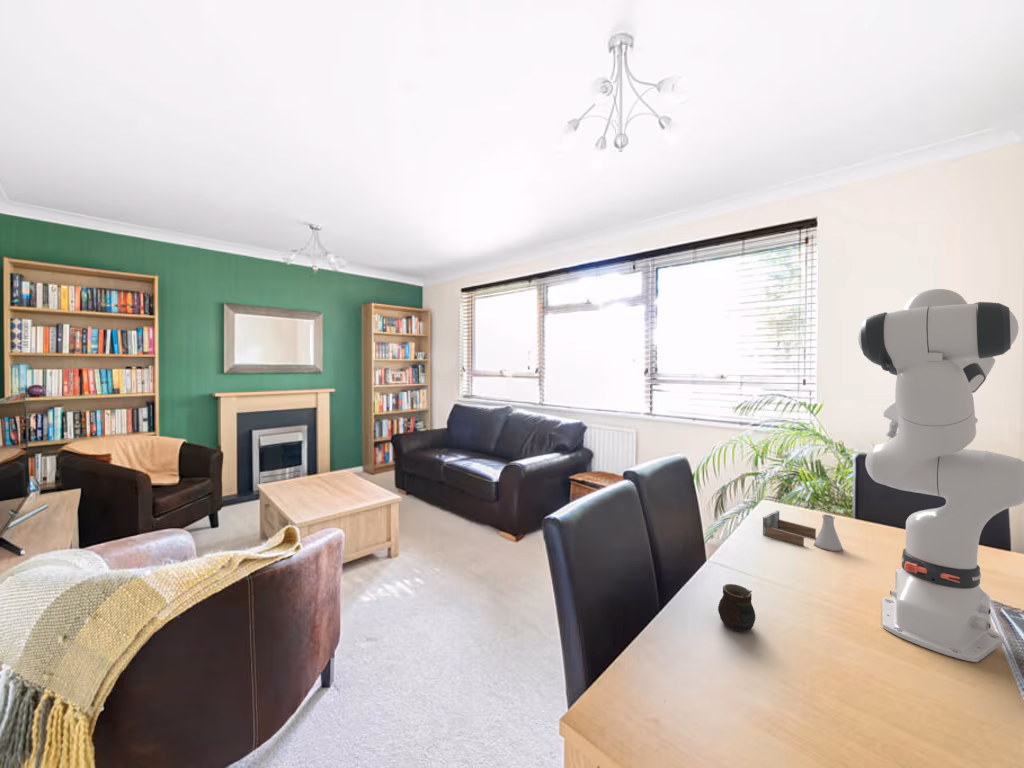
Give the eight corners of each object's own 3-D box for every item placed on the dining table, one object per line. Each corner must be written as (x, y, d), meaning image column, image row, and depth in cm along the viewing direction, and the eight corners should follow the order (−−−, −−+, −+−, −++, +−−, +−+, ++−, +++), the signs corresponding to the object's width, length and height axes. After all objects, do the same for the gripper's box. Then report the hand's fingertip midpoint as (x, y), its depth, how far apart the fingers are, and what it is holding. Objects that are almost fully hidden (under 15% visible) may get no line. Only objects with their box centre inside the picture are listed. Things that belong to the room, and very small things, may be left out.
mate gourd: (733, 613, 94) (735, 570, 94) (764, 632, 87) (766, 587, 87) (710, 619, 92) (711, 576, 91) (740, 640, 85) (741, 593, 84)
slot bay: (802, 546, 131) (803, 527, 131) (762, 534, 140) (763, 517, 140) (815, 537, 138) (815, 519, 138) (776, 527, 147) (776, 510, 147)
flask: (808, 544, 132) (809, 514, 132) (821, 540, 135) (822, 510, 135) (834, 553, 126) (834, 521, 125) (847, 549, 129) (847, 517, 128)
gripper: (895, 386, 123) (866, 425, 128) (965, 415, 104) (928, 460, 109) (912, 393, 124) (882, 431, 128) (985, 423, 105) (947, 467, 109)
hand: (904, 445), depth 118 cm, fingers open, 8 cm apart
